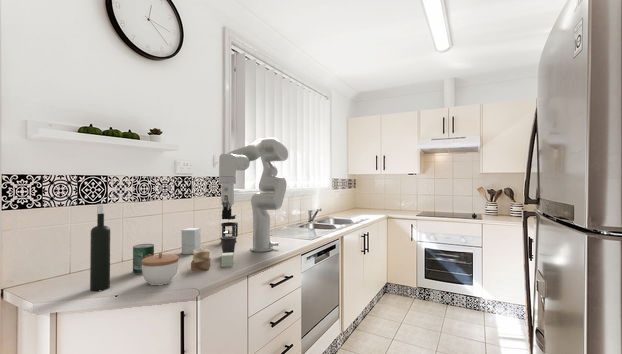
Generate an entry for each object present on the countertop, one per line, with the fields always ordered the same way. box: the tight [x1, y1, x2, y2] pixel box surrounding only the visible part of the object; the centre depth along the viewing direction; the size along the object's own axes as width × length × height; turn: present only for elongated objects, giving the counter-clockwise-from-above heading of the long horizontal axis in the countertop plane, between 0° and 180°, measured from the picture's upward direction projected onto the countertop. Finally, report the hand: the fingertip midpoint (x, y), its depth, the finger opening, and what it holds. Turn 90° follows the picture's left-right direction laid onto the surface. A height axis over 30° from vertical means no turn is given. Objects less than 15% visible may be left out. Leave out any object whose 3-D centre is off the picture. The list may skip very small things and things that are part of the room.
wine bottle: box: [89, 203, 111, 292], centre depth 108 cm, size 6×6×30 cm
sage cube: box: [220, 252, 235, 268], centre depth 138 cm, size 5×5×5 cm
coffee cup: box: [219, 235, 237, 254], centre depth 155 cm, size 8×8×10 cm
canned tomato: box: [132, 243, 155, 275], centre depth 128 cm, size 8×8×11 cm
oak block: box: [192, 248, 210, 262], centre depth 132 cm, size 6×6×4 cm
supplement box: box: [180, 227, 202, 255], centre depth 162 cm, size 7×7×13 cm
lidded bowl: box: [141, 252, 180, 286], centre depth 114 cm, size 13×13×11 cm
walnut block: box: [190, 257, 212, 272], centre depth 132 cm, size 7×7×4 cm
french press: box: [220, 213, 239, 245], centre depth 188 cm, size 12×9×23 cm
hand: (226, 218), depth 139 cm, fingers open, 9 cm apart
